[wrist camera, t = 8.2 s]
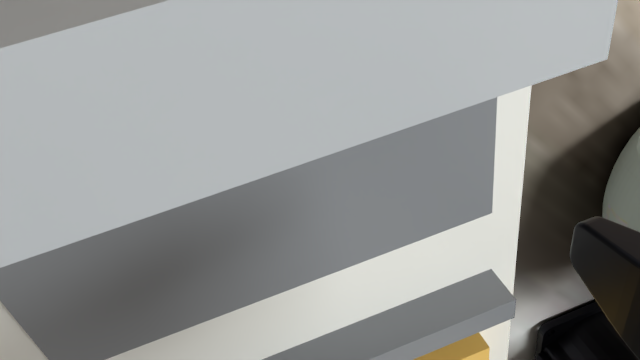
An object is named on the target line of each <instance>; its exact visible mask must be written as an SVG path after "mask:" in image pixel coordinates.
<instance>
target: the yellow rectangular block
mask: <svg viewBox="0 0 640 360" xmlns="http://www.w3.org/2000/svg"><path fill="white" fill-rule="evenodd" d="M489 351H490V347H489V346H488V344H487V343H486V342H485V340H484V339H483V337H482V336H481V334H480V333H479V332H478V333H476V334H474V335H471V336H469V337H466V338H464V339H461V340H459V341H457V342H454V343H452V344H449V345H447V346H445V347H442V348H440V349H437V350H435V351H432V352H430V353H428V354H425V355H423V356H420V357H418V358H416V359H413V360H489Z"/></svg>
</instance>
